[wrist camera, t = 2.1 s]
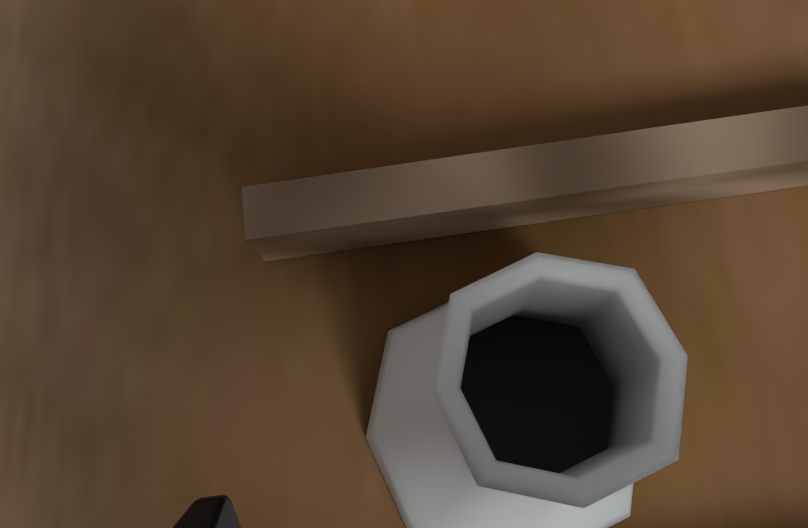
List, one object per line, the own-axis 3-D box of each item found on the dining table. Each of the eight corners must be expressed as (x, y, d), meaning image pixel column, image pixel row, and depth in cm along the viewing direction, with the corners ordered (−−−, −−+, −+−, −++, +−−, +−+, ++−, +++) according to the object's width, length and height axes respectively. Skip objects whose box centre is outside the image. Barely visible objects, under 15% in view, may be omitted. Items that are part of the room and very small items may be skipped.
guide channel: (881, 124, 20) (928, 88, 18) (1069, 649, 16) (1156, 675, 14) (261, 212, 20) (241, 186, 18) (298, 741, 16) (277, 778, 14)
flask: (382, 585, 17) (295, 740, 8) (353, 305, 19) (254, 150, 10) (671, 549, 17) (957, 663, 7) (610, 270, 19) (772, 75, 9)
